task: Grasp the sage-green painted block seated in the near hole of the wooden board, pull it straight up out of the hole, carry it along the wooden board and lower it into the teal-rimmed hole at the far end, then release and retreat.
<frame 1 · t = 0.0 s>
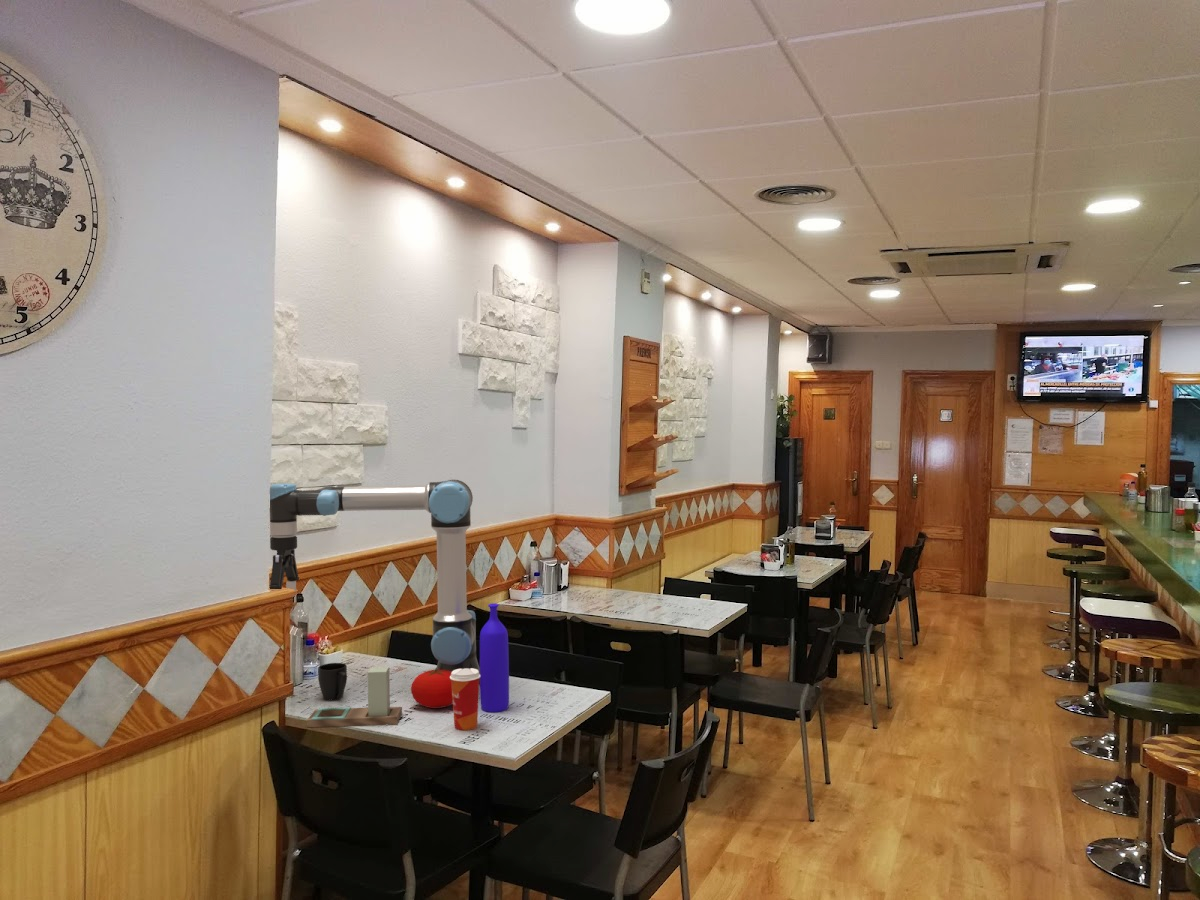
hand: (285, 607, 263), 28 cm above the table, fingers open, 13 cm apart
bottle: (494, 708, 255), on the table
mug: (335, 699, 265), on the table
block: (379, 719, 246), resting in wooden board
wooden board: (355, 720, 245), on the table
tomato: (436, 706, 258), on the table
coffee cup: (465, 727, 239), on the table
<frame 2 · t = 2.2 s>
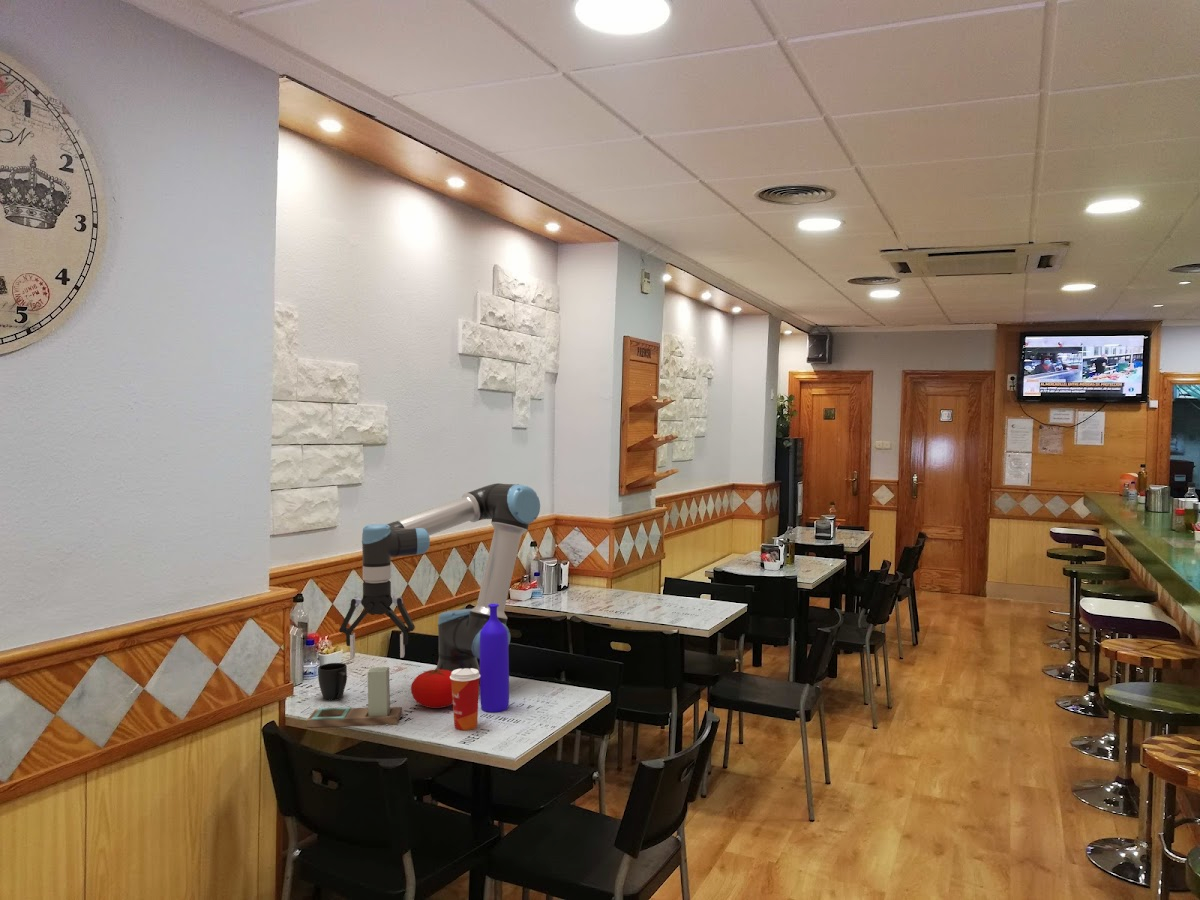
hand: (377, 657, 245), 18 cm above the table, fingers open, 13 cm apart
nothing on the table moved.
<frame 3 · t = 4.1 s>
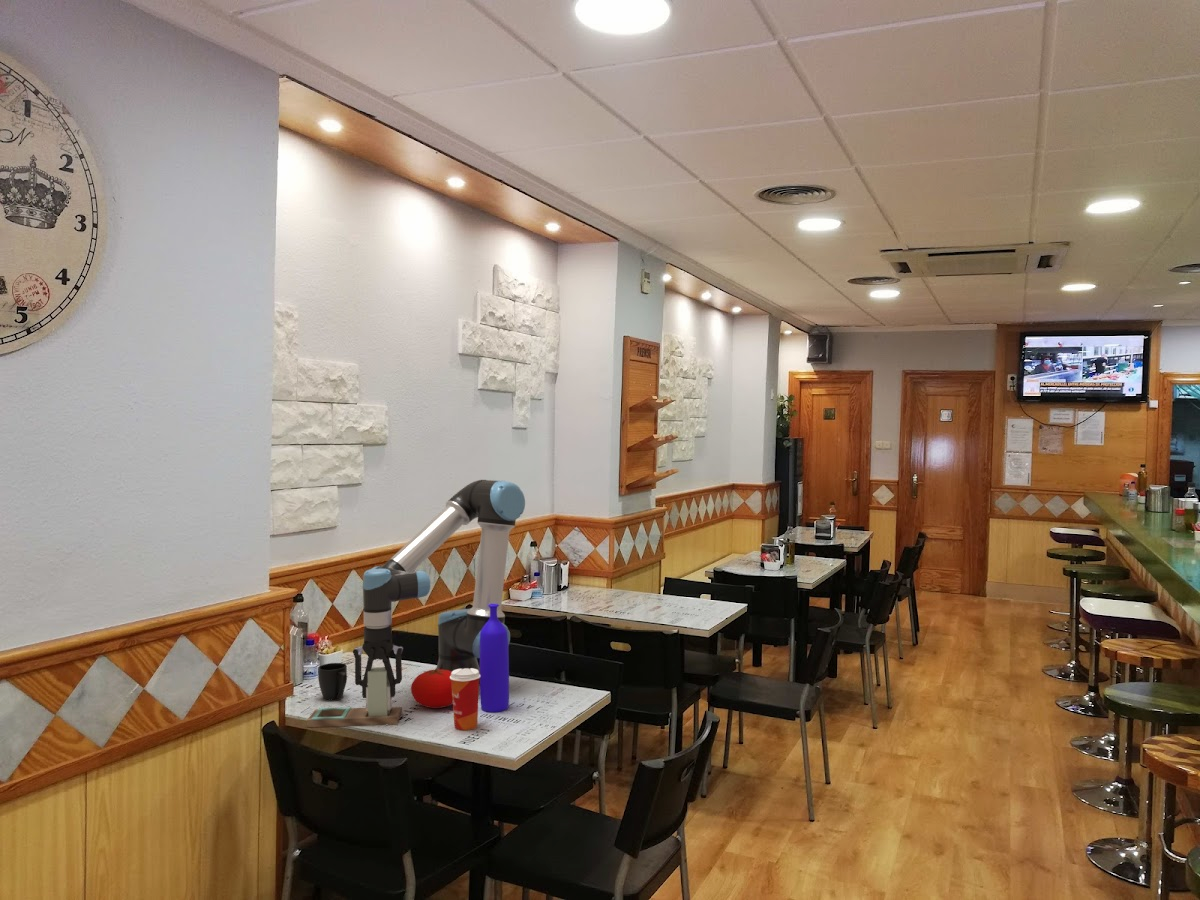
hand: (379, 708, 246), 3 cm above the table, fingers closed on block, 5 cm apart
block: (379, 719, 246), resting in wooden board, touching gripper
everything else where it was.
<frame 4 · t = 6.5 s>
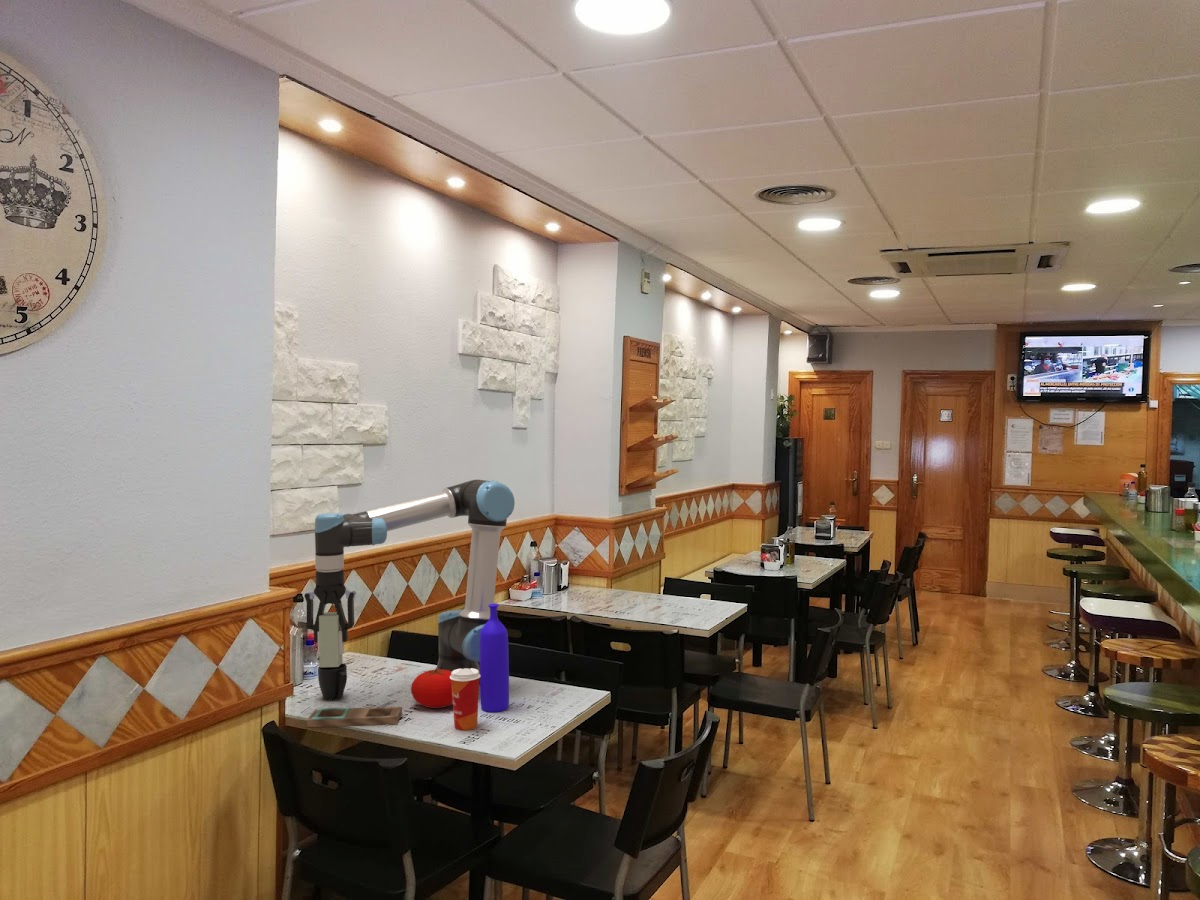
hand: (331, 653, 244), 19 cm above the table, fingers closed on block, 5 cm apart
block: (331, 664, 244), point 16 cm above the table, touching gripper
everything else where it was.
when the fingers open (3 cm above the table, at t = 9.0 s): block stays where it is, resting in wooden board.
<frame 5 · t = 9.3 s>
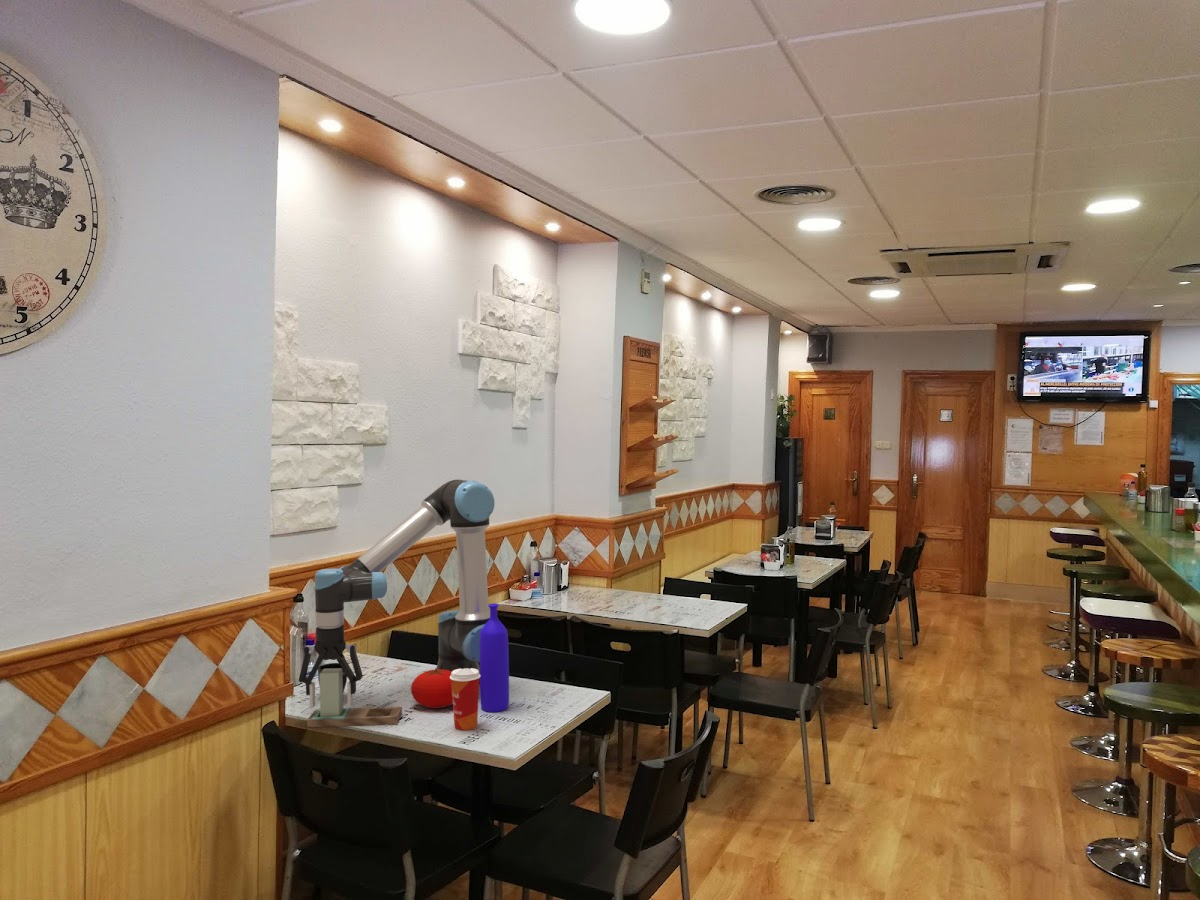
hand: (331, 706, 245), 4 cm above the table, fingers open, 9 cm apart
block: (331, 721, 245), resting in wooden board
everything else where it was.
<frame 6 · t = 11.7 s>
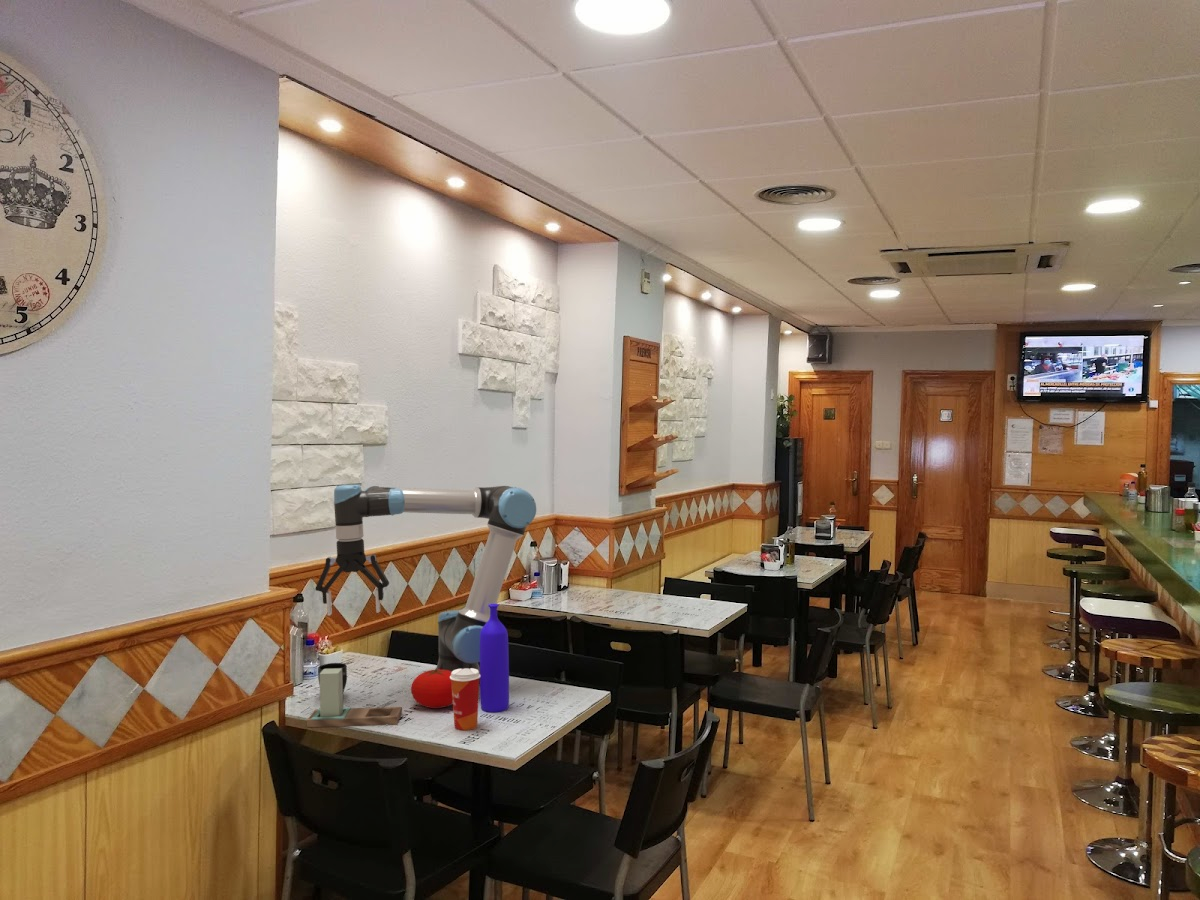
hand: (354, 613, 253), 28 cm above the table, fingers open, 13 cm apart
nothing on the table moved.
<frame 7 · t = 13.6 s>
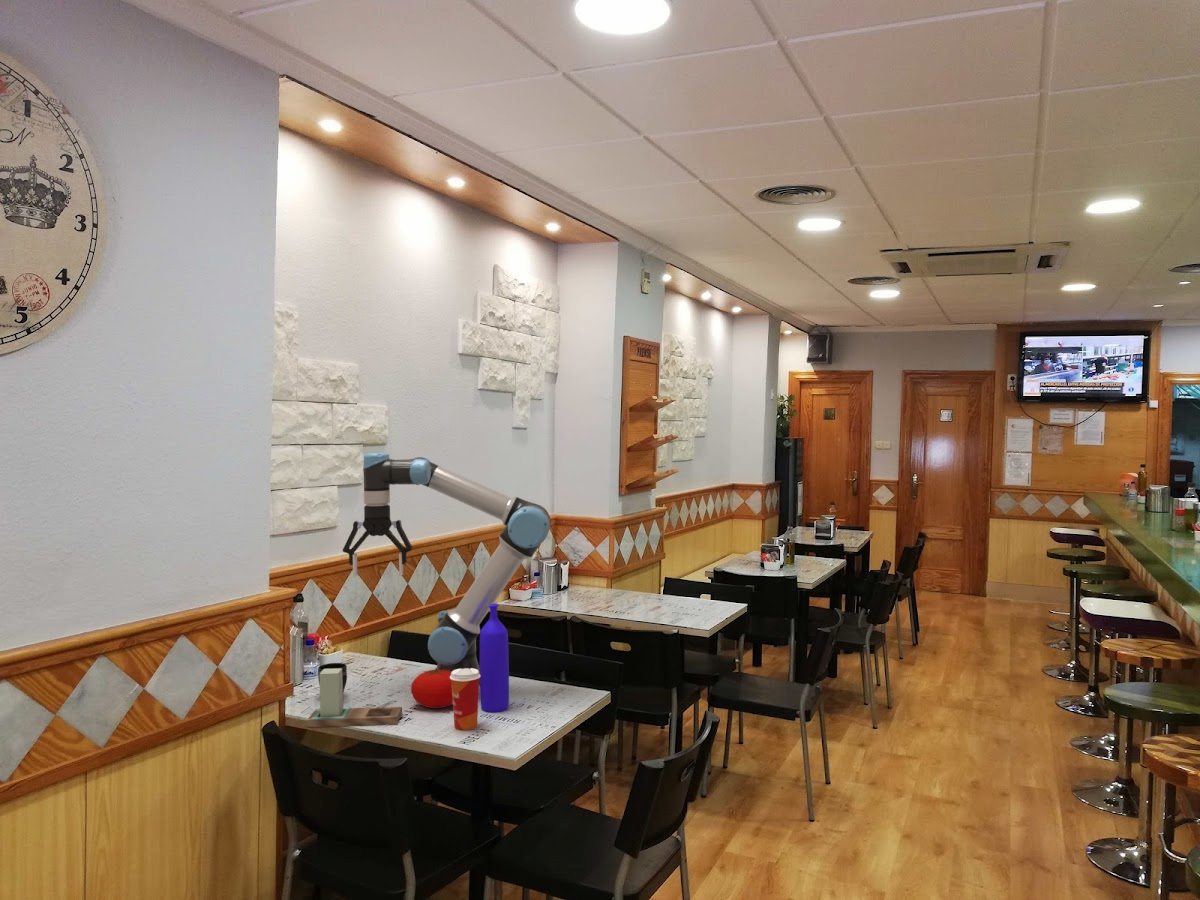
hand: (378, 575, 265), 37 cm above the table, fingers open, 13 cm apart
nothing on the table moved.
at the end: block 0.1 cm from the target spot on the wooden board, point 0.0 cm above the wooden board's base; block tilted 0°; the gripper is holding nothing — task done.
